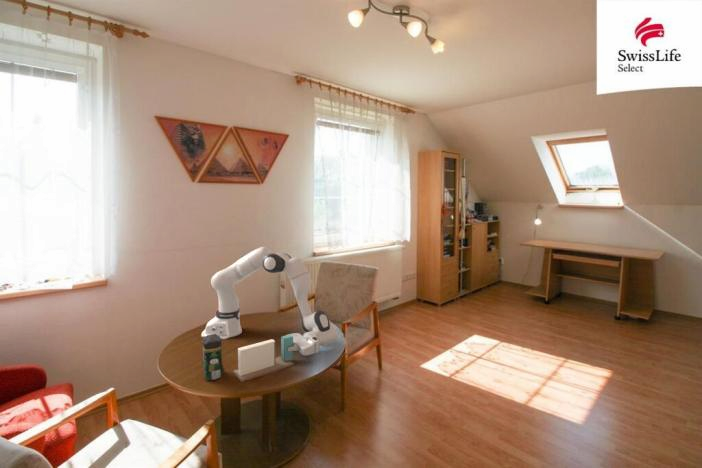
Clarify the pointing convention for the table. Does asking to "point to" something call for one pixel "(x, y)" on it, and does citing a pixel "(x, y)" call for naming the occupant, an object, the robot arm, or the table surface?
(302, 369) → the table surface
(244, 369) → the stand
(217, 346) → the coffee jar
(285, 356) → the teal rectangular block
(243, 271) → the robot arm
